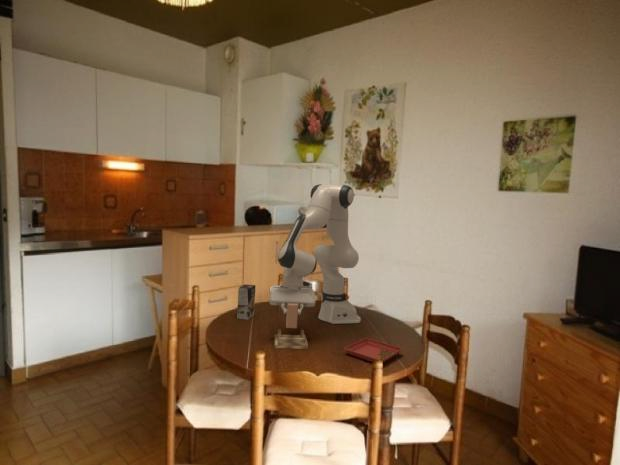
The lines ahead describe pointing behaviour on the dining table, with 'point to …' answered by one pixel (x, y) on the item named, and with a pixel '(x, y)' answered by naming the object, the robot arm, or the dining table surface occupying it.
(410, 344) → the dining table surface
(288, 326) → the pinkish brown block
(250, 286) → the coffee box
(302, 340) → the rack
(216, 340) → the dining table surface
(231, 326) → the dining table surface
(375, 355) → the plant saucer
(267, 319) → the dining table surface
